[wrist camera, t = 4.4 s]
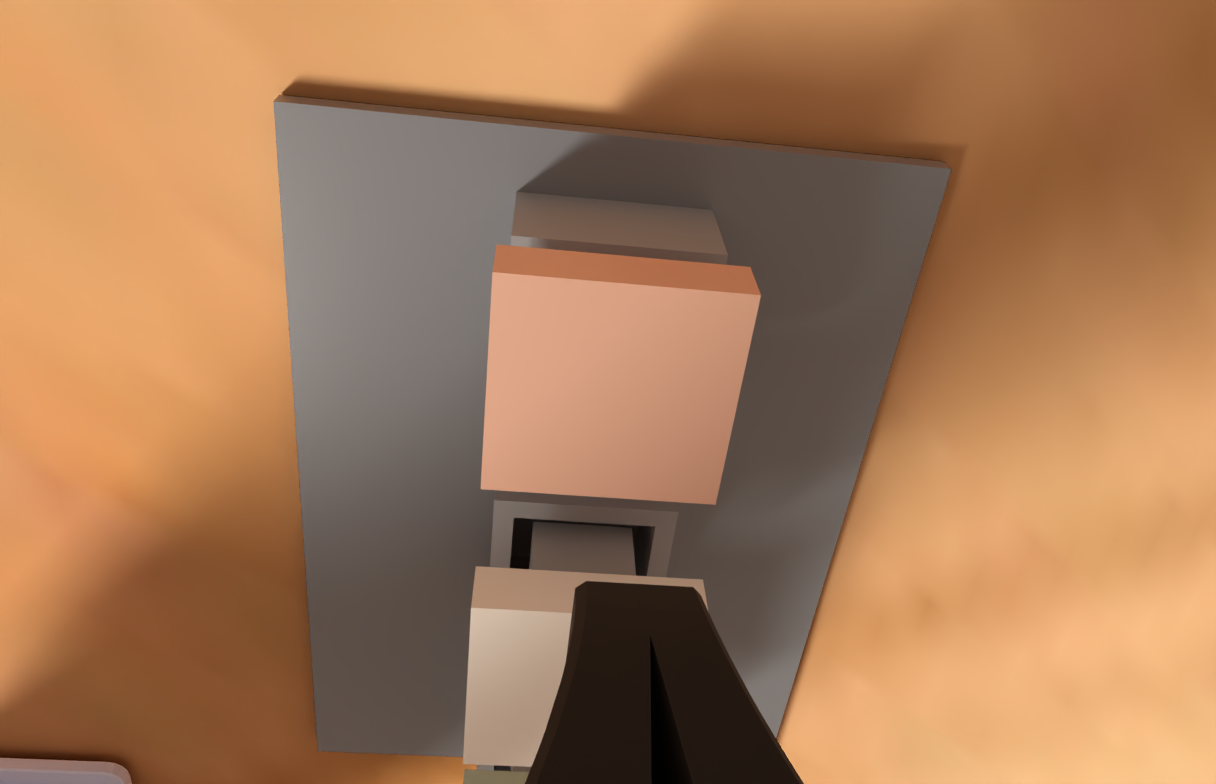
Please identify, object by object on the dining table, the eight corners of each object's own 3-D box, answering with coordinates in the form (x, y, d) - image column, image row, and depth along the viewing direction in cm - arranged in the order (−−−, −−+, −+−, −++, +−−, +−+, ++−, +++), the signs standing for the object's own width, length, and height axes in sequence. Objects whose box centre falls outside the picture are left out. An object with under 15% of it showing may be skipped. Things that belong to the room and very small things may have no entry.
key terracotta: (692, 394, 20) (715, 504, 17) (493, 379, 19) (480, 489, 16) (728, 207, 18) (761, 295, 15) (505, 186, 17) (492, 272, 14)
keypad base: (764, 757, 27) (780, 837, 25) (321, 738, 26) (300, 819, 24) (944, 161, 18) (992, 210, 16) (278, 94, 17) (240, 138, 15)
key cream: (659, 635, 22) (674, 772, 19) (477, 625, 21) (463, 763, 18) (688, 492, 19) (710, 620, 16) (485, 478, 19) (471, 607, 16)
